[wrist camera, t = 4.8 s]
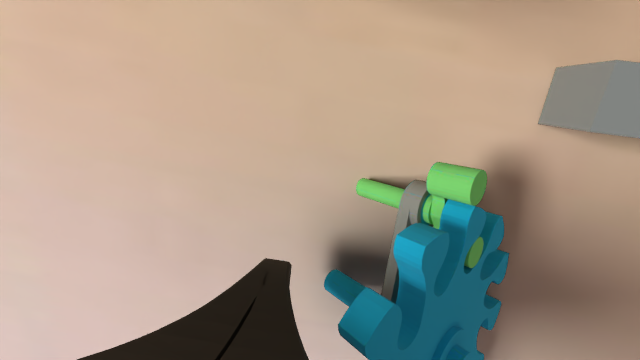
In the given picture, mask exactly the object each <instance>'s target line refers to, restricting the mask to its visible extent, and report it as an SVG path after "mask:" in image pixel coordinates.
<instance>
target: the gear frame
mask: <svg viewBox="0 0 640 360" xmlns="http://www.w3.org/2000/svg"><path fill="white" fill-rule="evenodd" d="M538 124H542V125H549V126H555V127H562V128H568V129H575V130H581V131H587V132H595V133H602V134H610V135H618V136H625V137H633V138H640V63H637V62H629V61H620V60H613V61H605V62H597V63H589V64H582V65H574V66H566V67H558V68H556V70H555V73H554V76H553V79H552V83H551V86H550V89H549V92H548V95H547V98H546V101H545V104H544V107H543V110H542V113H541V116H540V119H539V122H538Z"/></svg>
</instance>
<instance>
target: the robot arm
mask: <svg viewBox="0 0 640 360" xmlns="http://www.w3.org/2000/svg"><path fill="white" fill-rule="evenodd" d="M290 275H291V264H290V263H289V262H286V261H280V260H273V259H267V258H266V259H264V260H263V261H262V262H260V263H259V264H258V265H257V266H256V267H255V268H253V269H252V270H251V271H250V272H249V273H248V274H246V275H245V276H244V277H243V278H241V279H240V280H239V281H238V282H236V283H235V284H234V285H233V286H231V287H230V288H229V289H227V290H226V291H225V292H223V293H222V294H220V295H219V296H218V297H216V298H215V299H213V300H212V301H210V302H209V303H207V304H206V305H204V306H203V307H201V308H199V309H197V310H196V311H194V312H192V313H190V314H189V315H187V316H185V317H183V318H181V319H179V320H177V321H175V322H173V323H171V324H169V325H167V326H165V327H163V328H161V329H159V330H156V331H154V332H152V333H150V334H147V335H145V336H142V337H140V338H138V339H135V340H132V341H130V342H127V343H125V344H122V345H119V346H117V347H114V348H111V349H108V350H105V351H102V352H99V353H96V354H93V355H90V356H87V357H83V358H80V359H77V360H309V359H308V357H307V354H306V352H305V350H304V347H303V344H302V341H301V339H300V336H299V332H298V329H297V326H296V322H295V318H294V314H293V309H292V304H291V298H290V290H289V284H290Z"/></svg>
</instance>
